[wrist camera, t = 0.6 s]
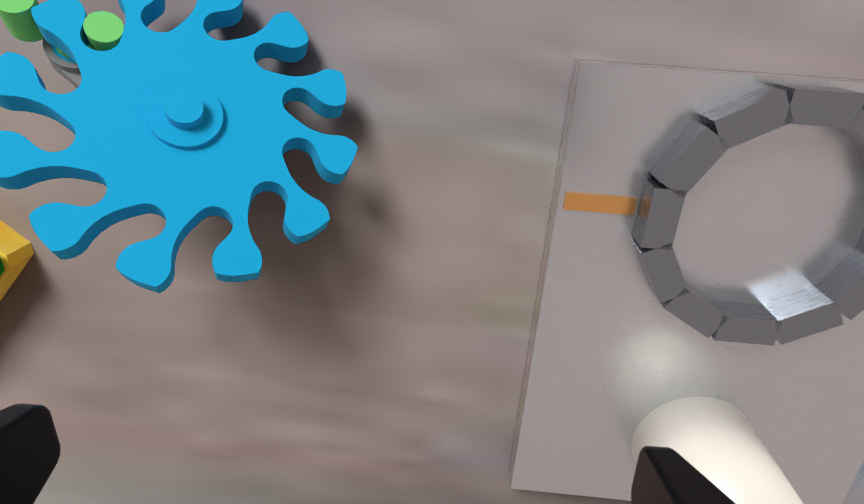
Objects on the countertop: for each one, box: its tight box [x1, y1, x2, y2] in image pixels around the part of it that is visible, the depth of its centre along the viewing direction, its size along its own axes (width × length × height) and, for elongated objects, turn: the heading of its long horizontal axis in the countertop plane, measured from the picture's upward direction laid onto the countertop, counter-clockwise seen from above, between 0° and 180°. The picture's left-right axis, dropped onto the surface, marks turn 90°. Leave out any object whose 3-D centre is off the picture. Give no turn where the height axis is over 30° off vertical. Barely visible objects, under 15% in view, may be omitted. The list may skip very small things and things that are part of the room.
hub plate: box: [509, 59, 864, 504], centre depth 21 cm, size 18×14×2 cm
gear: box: [0, 0, 358, 293], centre depth 18 cm, size 11×6×10 cm
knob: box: [631, 396, 803, 504], centre depth 20 cm, size 5×5×6 cm
